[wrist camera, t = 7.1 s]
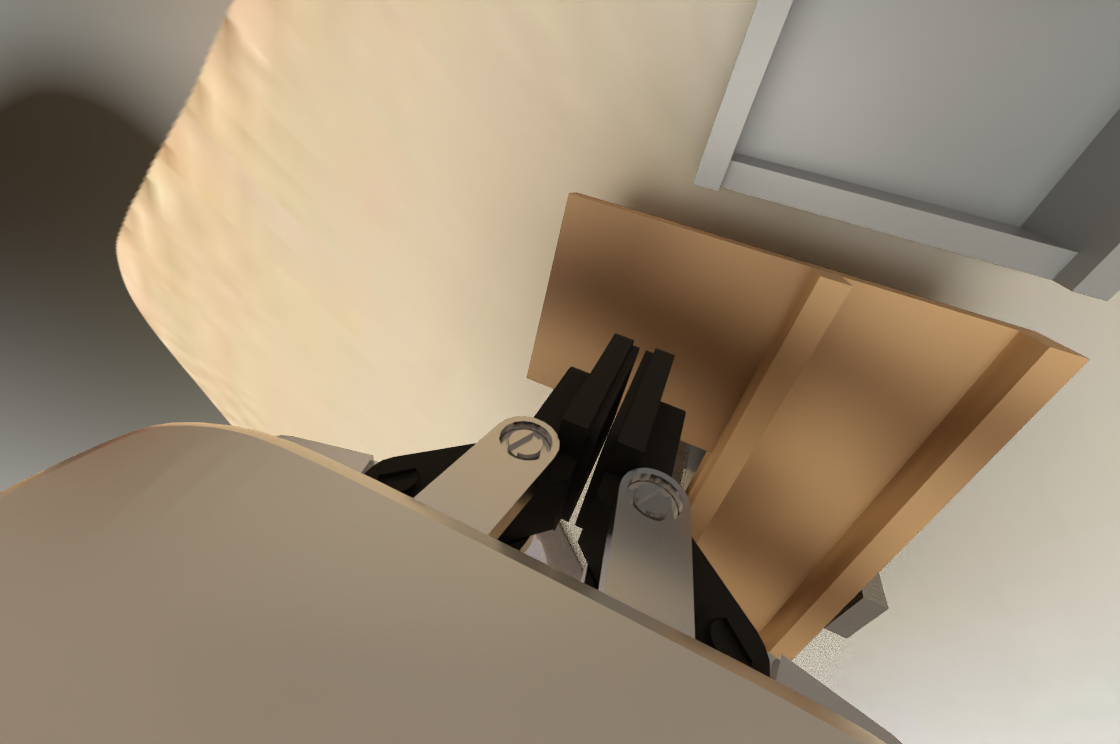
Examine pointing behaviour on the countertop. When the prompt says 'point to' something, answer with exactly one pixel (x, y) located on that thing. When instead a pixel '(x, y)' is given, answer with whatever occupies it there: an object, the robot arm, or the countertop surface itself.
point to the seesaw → (794, 399)
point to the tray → (937, 126)
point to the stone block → (555, 552)
